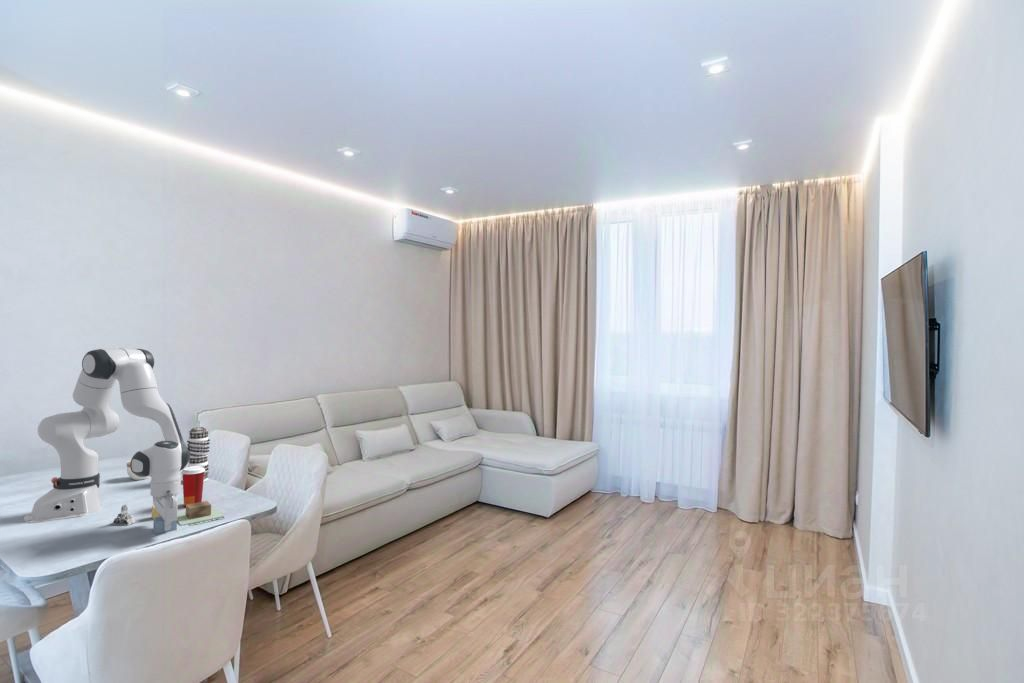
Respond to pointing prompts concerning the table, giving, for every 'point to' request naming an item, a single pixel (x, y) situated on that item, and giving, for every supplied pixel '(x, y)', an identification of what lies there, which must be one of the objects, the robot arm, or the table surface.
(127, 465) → the lidded jar
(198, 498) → the coffee cup
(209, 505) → the base brick
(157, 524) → the slate brick
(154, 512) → the ochre brick
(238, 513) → the table surface
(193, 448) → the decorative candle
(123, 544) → the table surface
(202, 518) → the sage board
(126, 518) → the grey lumpy mound
